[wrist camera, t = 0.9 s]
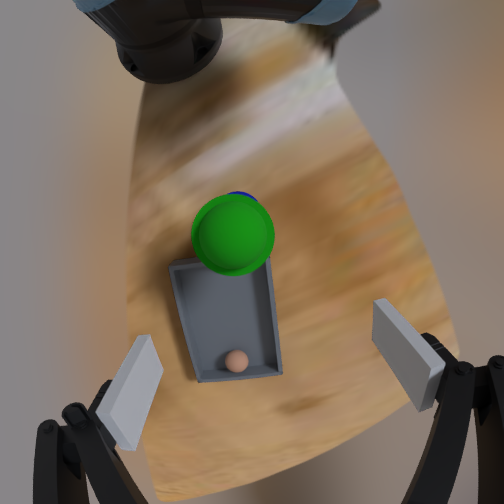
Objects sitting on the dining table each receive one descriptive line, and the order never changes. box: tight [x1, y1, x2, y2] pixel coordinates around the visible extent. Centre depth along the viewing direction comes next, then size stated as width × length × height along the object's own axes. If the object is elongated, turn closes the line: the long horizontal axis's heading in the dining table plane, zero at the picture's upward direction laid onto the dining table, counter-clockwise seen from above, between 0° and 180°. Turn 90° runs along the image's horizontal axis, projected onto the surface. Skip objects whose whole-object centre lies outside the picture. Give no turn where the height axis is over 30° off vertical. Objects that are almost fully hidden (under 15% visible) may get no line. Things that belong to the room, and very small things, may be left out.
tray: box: [168, 255, 283, 383], centre depth 41 cm, size 19×13×3 cm
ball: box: [225, 350, 249, 372], centre depth 41 cm, size 4×4×4 cm
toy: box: [191, 191, 275, 276], centre depth 31 cm, size 8×8×15 cm
